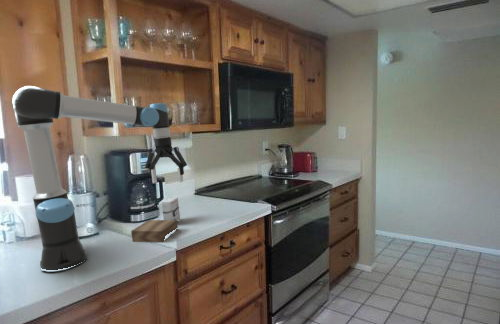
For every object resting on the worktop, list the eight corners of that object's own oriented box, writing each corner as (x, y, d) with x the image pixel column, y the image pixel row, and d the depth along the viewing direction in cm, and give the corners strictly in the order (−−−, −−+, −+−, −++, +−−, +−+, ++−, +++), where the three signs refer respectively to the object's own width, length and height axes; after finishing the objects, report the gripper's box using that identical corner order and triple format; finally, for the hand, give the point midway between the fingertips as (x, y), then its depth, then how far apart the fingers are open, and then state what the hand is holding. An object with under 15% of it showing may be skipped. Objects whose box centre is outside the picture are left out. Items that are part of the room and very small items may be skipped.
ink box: (173, 226, 157) (170, 201, 155) (163, 226, 158) (160, 201, 156) (180, 220, 165) (178, 196, 164) (171, 220, 166) (168, 197, 165)
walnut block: (132, 242, 142) (131, 231, 141) (150, 230, 155) (148, 220, 154) (163, 243, 138) (161, 231, 137) (178, 230, 152) (176, 220, 151)
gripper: (190, 134, 156) (195, 179, 160) (142, 138, 162) (148, 181, 165) (184, 136, 149) (189, 183, 152) (133, 139, 155) (139, 184, 158)
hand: (167, 182), depth 159 cm, fingers open, 13 cm apart
